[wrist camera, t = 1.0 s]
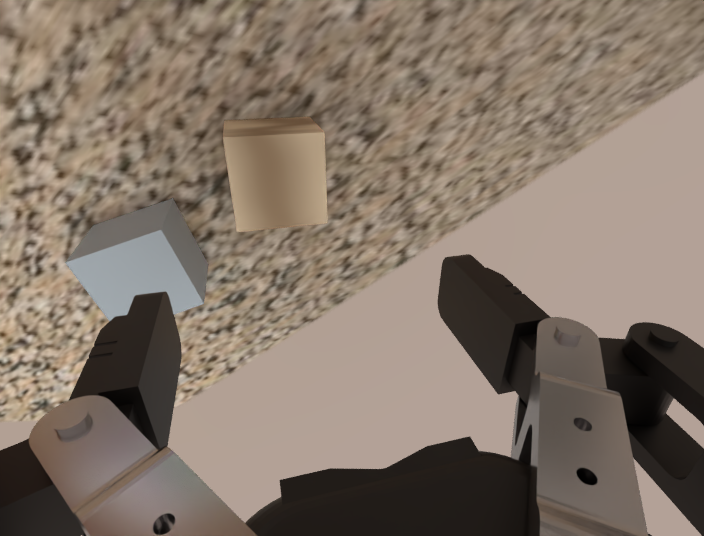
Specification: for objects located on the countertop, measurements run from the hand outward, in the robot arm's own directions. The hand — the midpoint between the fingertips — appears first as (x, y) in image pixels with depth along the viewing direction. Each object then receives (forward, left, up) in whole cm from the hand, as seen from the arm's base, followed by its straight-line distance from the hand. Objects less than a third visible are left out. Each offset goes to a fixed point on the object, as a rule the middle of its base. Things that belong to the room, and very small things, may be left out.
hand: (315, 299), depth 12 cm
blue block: (+8, +5, -16) cm, 19 cm away
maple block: (0, 0, -16) cm, 16 cm away
